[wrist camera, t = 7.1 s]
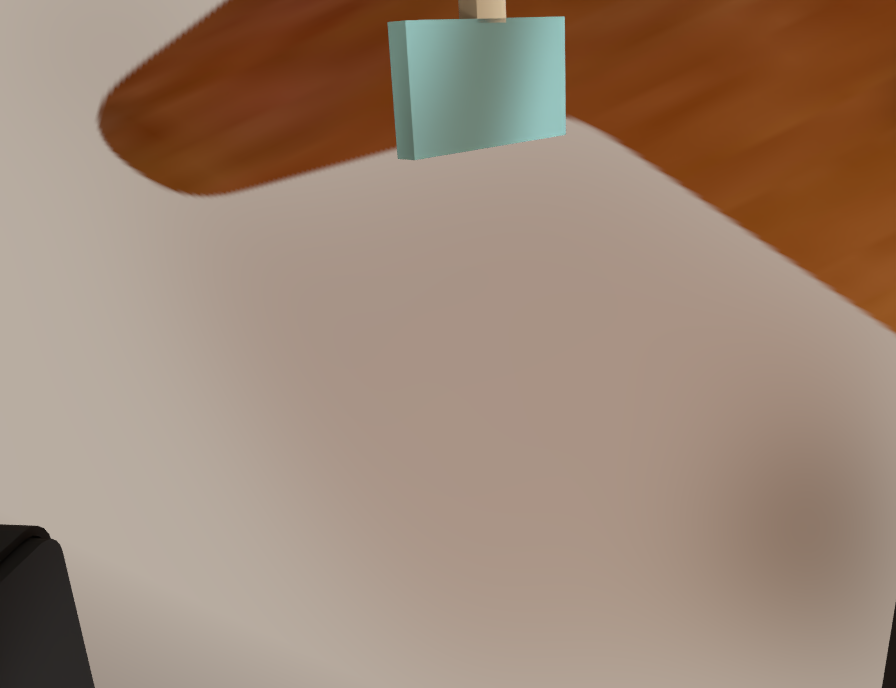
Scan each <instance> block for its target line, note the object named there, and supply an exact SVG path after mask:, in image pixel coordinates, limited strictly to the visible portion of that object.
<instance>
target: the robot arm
mask: <svg viewBox="0 0 896 688" xmlns="http://www.w3.org/2000/svg"><path fill="white" fill-rule="evenodd" d="M0 688H95V687H94V683H93V679H92V674H91V670H90V666H89V661H88V657H87V653H86V649H85V644H84V641H83V636H82V632H81V627H80V623H79V619H78V615H77V610H76V606H75V602H74V598H73V593H72V589H71V585H70V581H69V577H68V572H67V568H66V564H65V559H64V555H63V551H62V548H61V546H60V544H59V543H58V542H57V541H56V540H53V539H51V538H50V536H49V534H48V533H47V531H46V530H45V529H44V528H42V527H39V526H26V525H0ZM882 688H896V605H895V610H894V617H893V623H892V629H891V635H890V641H889V647H888V654H887V660H886V666H885V672H884V679H883V684H882Z"/></svg>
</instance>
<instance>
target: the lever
mask: <svg viewBox="0 0 896 688" xmlns="http://www.w3.org/2000/svg"><path fill="white" fill-rule="evenodd" d="M458 1H459V19H446V20H406V21H396V22H388V34H389V48H390V61H391V74H392V88H393V101H394V114H395V128H396V141H397V155H398V159H408V160H417V159H424V158H430V157H436V156H442V155H448V154H454V153H460V152H466V151H472V150H478V149H483V148H489V147H495V146H501V145H507V144H513V143H519V142H525V141H531V140H537V139H543V138H549V137H555V136H561V135H565V134H566V127H565V126H566V116H565V17H527V18H506V0H458Z"/></svg>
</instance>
